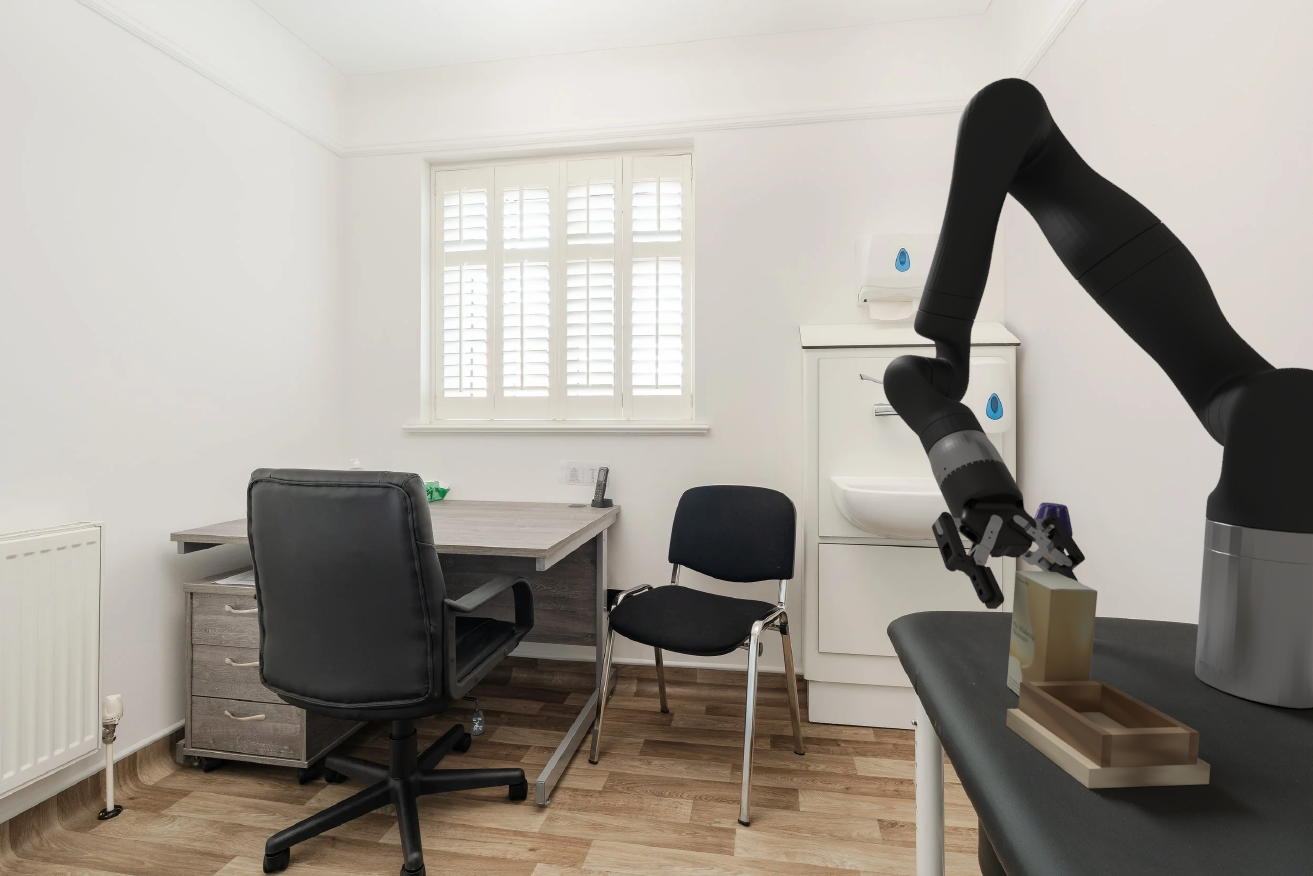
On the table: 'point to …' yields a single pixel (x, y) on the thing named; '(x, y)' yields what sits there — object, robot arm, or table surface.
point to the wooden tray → (1106, 735)
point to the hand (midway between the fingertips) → (1037, 605)
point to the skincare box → (1050, 629)
